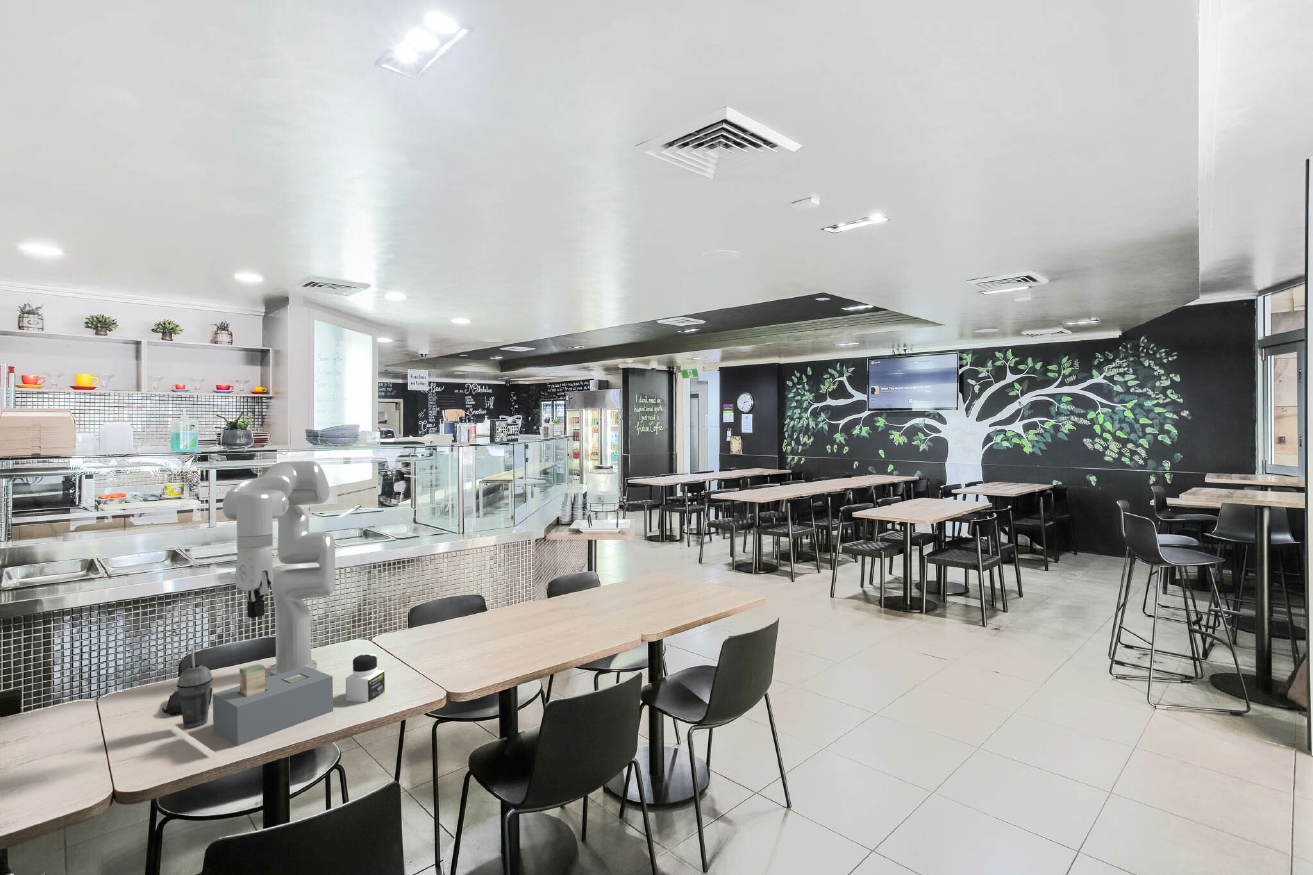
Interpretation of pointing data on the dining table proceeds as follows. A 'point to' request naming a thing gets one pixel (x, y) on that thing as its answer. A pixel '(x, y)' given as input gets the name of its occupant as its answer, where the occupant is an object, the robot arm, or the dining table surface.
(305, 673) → the socket block
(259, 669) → the proud peg
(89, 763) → the dining table surface
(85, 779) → the dining table surface
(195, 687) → the beverage cup
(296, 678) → the flush peg
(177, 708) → the carrying case or bag
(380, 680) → the medicine bottle
